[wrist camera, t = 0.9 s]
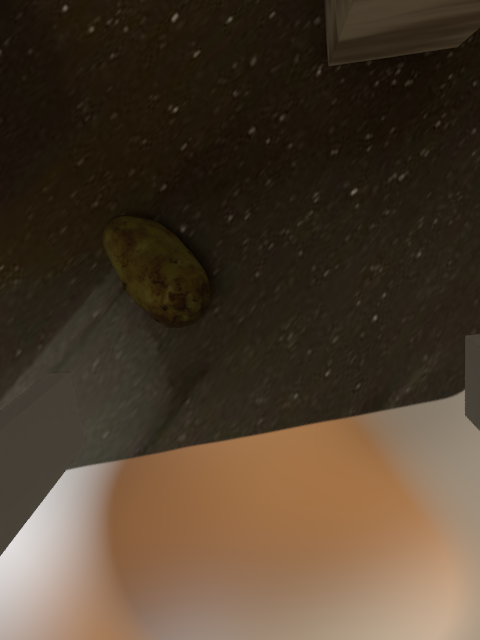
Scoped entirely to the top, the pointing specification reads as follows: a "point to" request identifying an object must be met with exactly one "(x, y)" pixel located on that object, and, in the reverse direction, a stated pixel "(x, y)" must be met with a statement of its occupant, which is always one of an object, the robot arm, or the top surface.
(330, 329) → the top surface
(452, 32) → the block
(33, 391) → the robot arm
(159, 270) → the potato
